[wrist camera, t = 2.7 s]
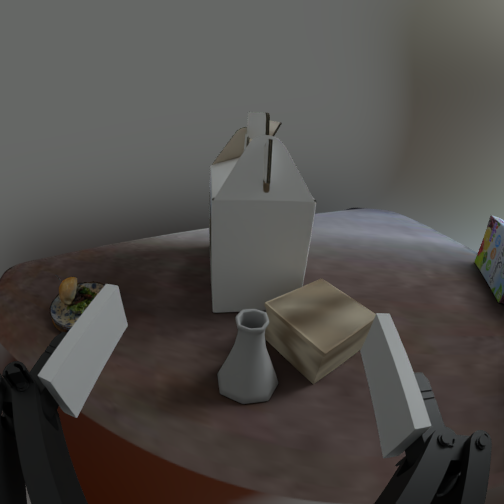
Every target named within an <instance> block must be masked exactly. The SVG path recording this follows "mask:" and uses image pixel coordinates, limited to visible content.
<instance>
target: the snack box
mask: <svg viewBox="0 0 504 504" xmlns="http://www.w3.org/2000/svg"><path fill="white" fill-rule="evenodd" d="M475 264H476V265H477V267H478V268H479V270H480V271H481V273H482V275H483V276H484V278H485V280H486V281H487V283H488V285H489V287H490V288H491V290H492V292H493V294H494V296H495V297H496V299H497V301H498V303H502V304H504V220H502V219H500V218H498V217H495V216H492V215H491V216H490V220H489V223H488V226H487V229H486V232H485V235H484V238H483V241H482V244H481V247H480V249H479V252H478V254H477V257H476V259H475Z"/></svg>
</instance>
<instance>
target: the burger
mask: <svg viewBox="0 0 504 504" xmlns="http://www.w3.org/2000/svg"><path fill="white" fill-rule="evenodd" d="M56 276H57V275H56ZM57 277H58V276H57ZM58 279H59V278H58ZM59 280H60V279H59ZM60 281H61V280H60ZM61 282H62V283H61V285H60V287H59V294H58V295H57V296H56V297H55V299H54V300H53V301H52V304H51V306H50V308H49V309H50V315H51V318H52V321H53V324H54V326H55V327H56V328H57V329H58V330H59V331H61V332H66V333H68V332H69V330H70V329H71V328H72V326H73V325H74V324H75V322H76V321H77V320H78V318H79V317H80V316H81V315H82V313H83V312H84V311H85V309H86V308H87V307H88V306H89V304H90V303H91V302H92V301H93V299H94V298H95V297H96V296H97V295H98V293H99V292H100V291H101V290H102V288H103V287H104V286H105V285H104V284H103V283H99V282H94V281H93V282H88V283H87V282H84V283H78V284H77V278H75V277H69V278H67V279H65V280H63V281H61Z"/></svg>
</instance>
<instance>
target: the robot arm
mask: <svg viewBox="0 0 504 504" xmlns="http://www.w3.org/2000/svg"><path fill="white" fill-rule="evenodd" d="M127 326H128V324H127V320H126V316H125V312H124V308H123V304H122V300H121V296H120V291H119V287H118V286H116V285H111V284H106V285H105V286H104V287H103V288H102V290H101V291H100V292H99V293H98V295H97V296H96V297H95V298H94V299H93V301H92V302H91V303H90V304H89V306H88V307H87V308H86V309H85V311H84V312H83V313H82V315H81V316H80V317H79V318H78V320H77V321H76V322H75V324H74V325H73V326H72V328H71V329H70V330H69V332H68V333H66V332H61V333H60V334H59V335H57V336H56V337H55V338H54V339H53V340H52V342H51V343H50V344H49V346H48V347H47V348H46V350H45V352H44V353H43V354H42V355H41V357H40V358H39V360H38V361H37V362H36V364H35V365H34V367H33V368H32V370H31V371H30V372H28V370H27V368H26V367H25V365H24V364H23V363H21V362H19V361H15V362H12V363H9V364H8V365H7V366H6V367H5V369H4V371H3V375H2V376H3V377H4V378H3V377H2V376H1V374H0V504H27V499H26V487H27V491H28V494H29V497H30V500H31V504H88V503H87V501H86V499H85V496H84V494H83V491H82V489H81V486H80V484H79V481H78V479H77V476H76V473H75V470H74V467H73V464H72V461H71V458H70V455H69V452H68V448H67V445H66V441H65V438H64V434H63V430H62V426H61V422H60V418H59V414H58V412H57V408H58V406H60V408H61V409H62V410H63V411H64V412H65V413H67V414H69V415H71V416H73V417H76V418H77V417H78V415H79V413H80V411H81V409H82V407H83V405H84V403H85V401H86V399H87V397H88V395H89V393H90V391H91V390H92V388H93V386H94V384H95V382H96V380H97V378H98V377H99V375H100V373H101V371H102V369H103V367H104V366H105V364H106V362H107V360H108V359H109V357H110V355H111V353H112V351H113V350H114V348H115V346H116V345H117V343H118V341H119V339H120V338H121V336H122V334H123V333H124V331H125V329H126V328H127ZM360 352H361V356H362V360H363V364H364V368H365V372H366V376H367V380H368V384H369V389H370V393H371V398H372V402H373V407H374V412H375V417H376V422H377V427H378V432H379V437H380V443H381V449H382V455H383V458H388V457H394V456H399V455H400V454H401V453H402V452H403V451H405V453H406V456H405V457H404V458H403V459H402V460H400V461H399V462H398V463H397V464H396V465H395V466H398V465H399V467H398V469H397V470H396V472H395V474H394V475H393V477H392V478H391V480H390V482H389V483H388V485H387V486H386V488H385V489H384V490H383V492H382V493H381V495H380V496H379V498H378V499H377V500H376V502H375V503H374V504H484V503H485V498H486V492H487V486H488V479H489V471H490V460H491V446H492V443H491V438H490V436H489V434H488V433H487V432H485V431H483V430H478V431H476V432H474V433H473V434H472V435H471V436H462V435H456V434H455V433H454V431H453V430H452V429H450V428H448V427H445V425H444V423H443V420H442V417H441V414H440V411H439V408H438V405H437V402H436V399H434V394H433V391H432V388H431V386H430V383H429V381H428V379H427V378H426V377H425V376H424V375H423V373H422V372H420V373H414V372H413V370H412V367H411V365H410V362H409V359H408V357H407V354H406V352H405V349H404V347H403V344H402V342H401V339H400V337H399V335H398V332H397V330H396V328H395V325H394V323H393V321H392V318H391V316H390V314H381V313H376V316H375V318H374V320H373V323H372V325H371V328H370V330H369V332H368V335H367V337H366V339H365V342H364V344H363V346H362V348H361V351H360ZM2 411H3V415H2V416H1V414H2ZM25 483H26V486H25Z"/></svg>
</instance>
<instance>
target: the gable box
mask: <svg viewBox="0 0 504 504" xmlns="http://www.w3.org/2000/svg"><path fill="white" fill-rule="evenodd" d="M280 125H281V123H280V122H275V121H270V115H269V113H264V112H249V113H248V122H247V127H243V128H241V129H239V130H237V131H236V132H235V134H234V135H233V136H232V138H231V139H230V141H229V142H228V143H227V145H226V146H225V147H224V149H223V150H222V151H221V153H220V154H219V156H218V157H217V158H216V160H215V161H214V162H213V164H212V165H211V166H210V209H209V210H210V211H209V212H210V213H209V221H210V222H209V234H210V269H211V290H212V308H213V312H214V313H220V312H240V311H241V310H242V309H257V310H260V311H265V310H266V307H265V306H264V305H265V302H267V301H270V300H272V299H274V298H277V297H279V296H282V295H284V294H286V293H289V292H291V291H294V290H296V289H298V288H301V287H302V286H303V280H304V275H305V269H306V264H307V258H308V252H309V246H310V240H311V234H312V228H313V221H314V215H315V208H316V200H315V199H314V198H313V197H312V196H311V194H310V192H309V190H308V188H307V186H306V184H305V182H304V180H303V179H302V176H301V174H300V172H299V171H298V169H297V167H296V165H295V163H294V161H293V160H292V158H291V156H290V154H289V152H288V151H287V149H286V147H285V145H284V144H283V142H282V141H281V140H280V139H278V138H277V137H274V135H275V133H276V132H277V130H278V129H279V127H280Z"/></svg>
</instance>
